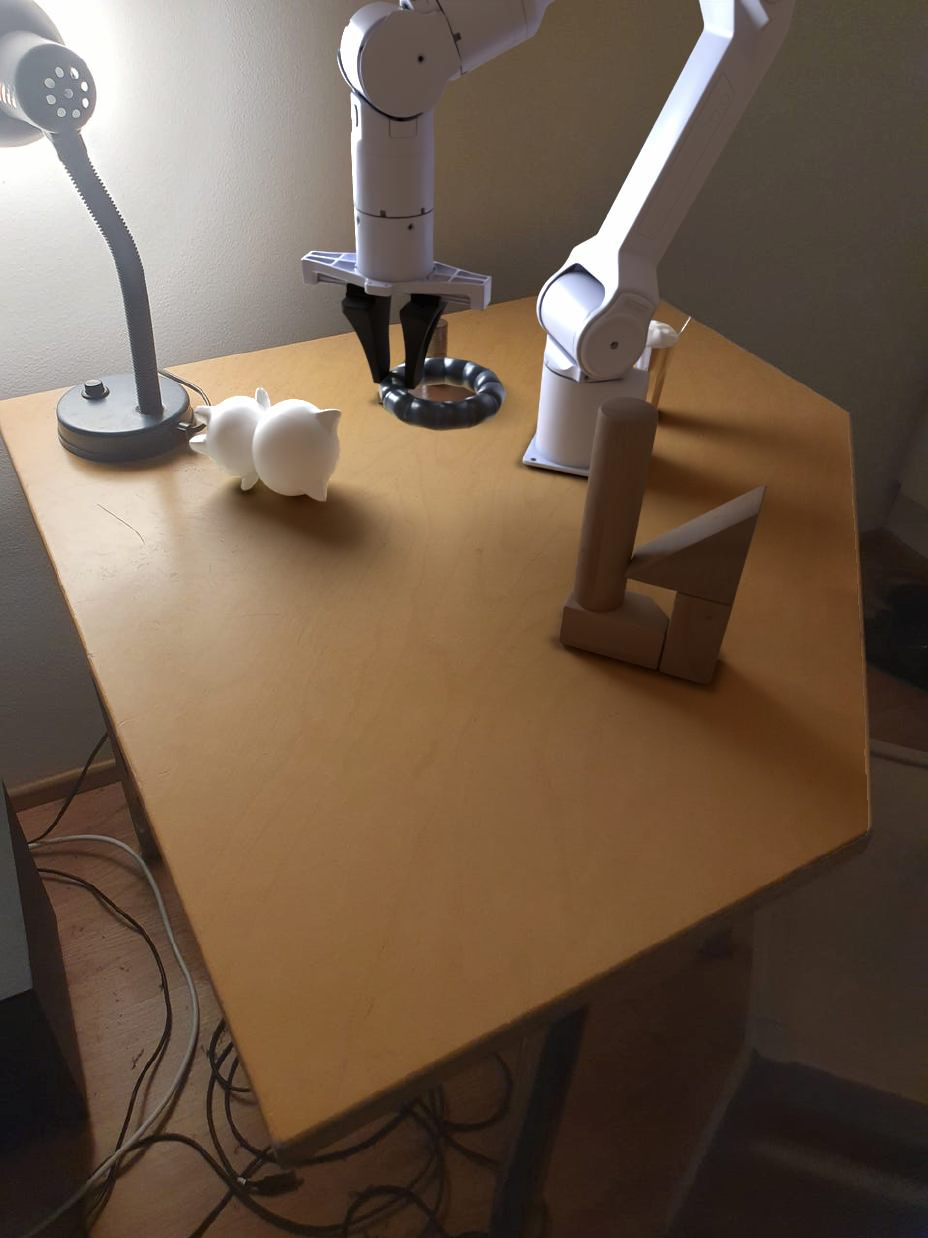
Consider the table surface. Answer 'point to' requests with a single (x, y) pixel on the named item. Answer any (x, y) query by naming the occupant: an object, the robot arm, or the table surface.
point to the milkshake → (658, 357)
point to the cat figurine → (272, 443)
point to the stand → (439, 391)
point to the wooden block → (651, 559)
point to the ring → (447, 412)
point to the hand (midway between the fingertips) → (397, 381)
